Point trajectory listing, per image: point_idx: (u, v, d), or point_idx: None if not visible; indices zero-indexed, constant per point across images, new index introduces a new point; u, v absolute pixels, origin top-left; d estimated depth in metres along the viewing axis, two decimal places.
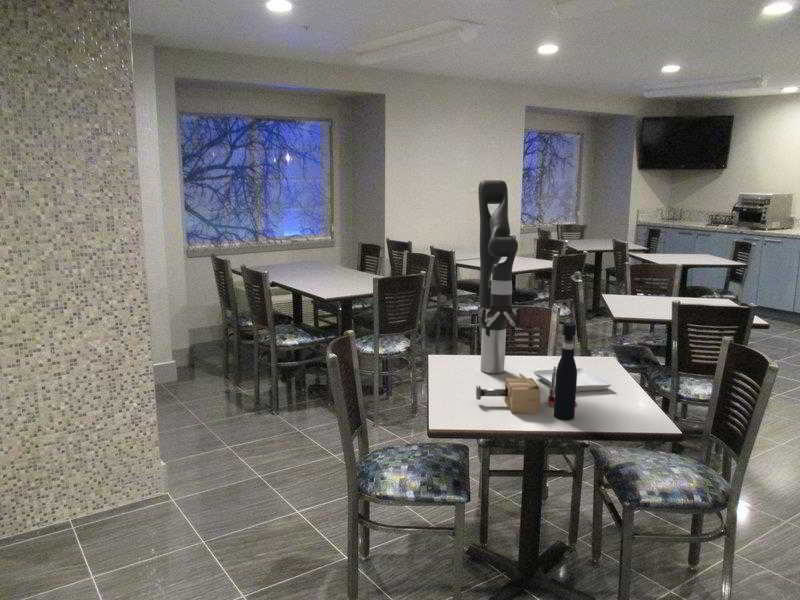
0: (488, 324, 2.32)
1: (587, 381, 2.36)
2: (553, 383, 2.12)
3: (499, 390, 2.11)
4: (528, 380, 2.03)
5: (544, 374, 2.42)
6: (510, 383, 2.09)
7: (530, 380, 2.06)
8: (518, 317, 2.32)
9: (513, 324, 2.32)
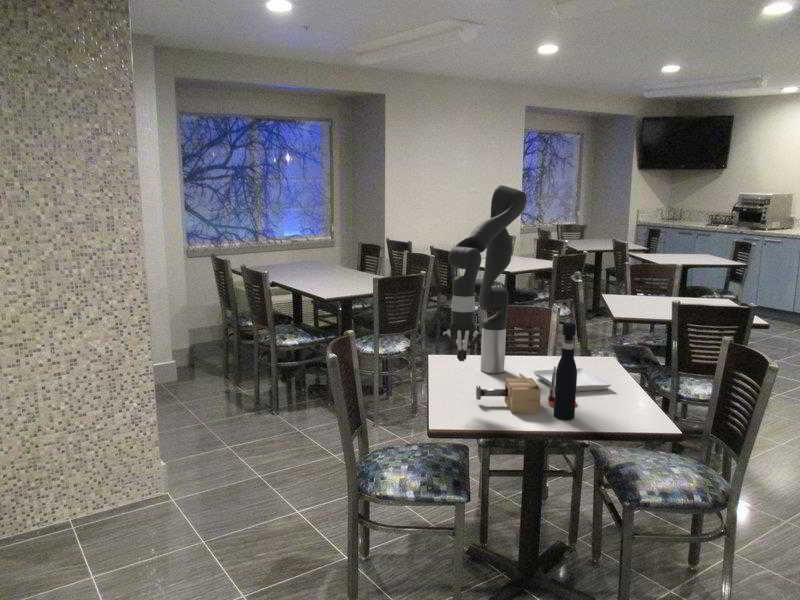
0: (460, 347, 2.07)
1: (587, 381, 2.36)
2: (553, 383, 2.12)
3: (499, 390, 2.11)
4: (528, 380, 2.03)
5: (544, 374, 2.42)
6: (510, 383, 2.09)
7: (530, 380, 2.06)
8: (474, 341, 2.07)
9: (464, 347, 2.07)
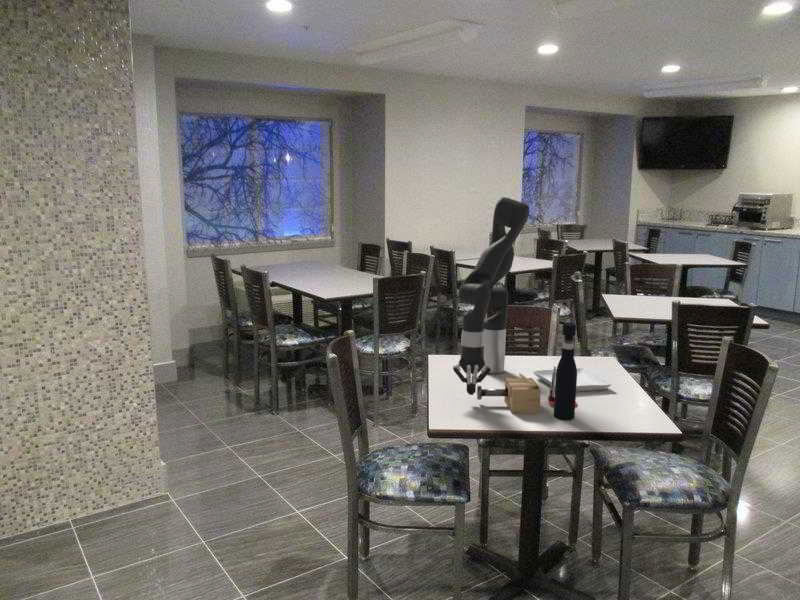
0: (469, 381, 2.10)
1: (587, 381, 2.36)
2: (553, 383, 2.12)
3: (500, 390, 2.11)
4: (528, 380, 2.03)
5: (544, 374, 2.42)
6: (510, 383, 2.09)
7: (530, 380, 2.06)
8: (483, 375, 2.09)
9: (473, 381, 2.10)
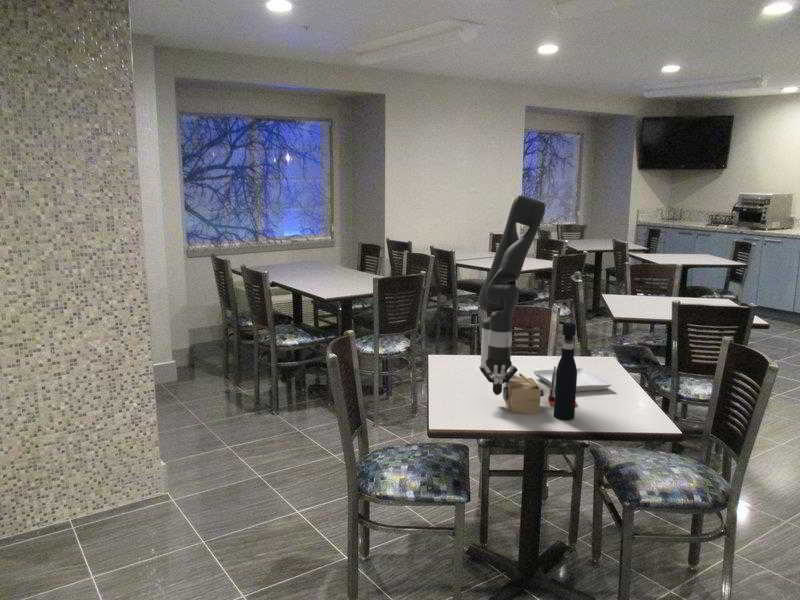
0: (496, 381, 2.10)
1: (587, 381, 2.36)
2: (553, 383, 2.12)
3: None
4: (528, 380, 2.03)
5: (544, 374, 2.42)
6: (510, 383, 2.09)
7: (530, 380, 2.06)
8: (510, 375, 2.10)
9: (500, 381, 2.10)
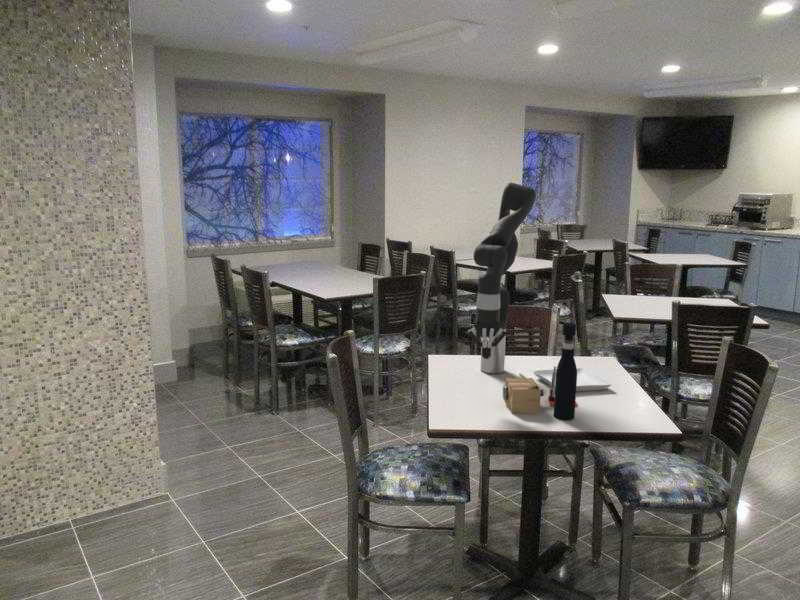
0: (485, 345, 2.08)
1: (587, 381, 2.36)
2: (553, 383, 2.12)
3: None
4: (528, 380, 2.03)
5: (544, 374, 2.42)
6: (510, 383, 2.09)
7: (530, 380, 2.06)
8: (499, 339, 2.07)
9: (489, 345, 2.08)
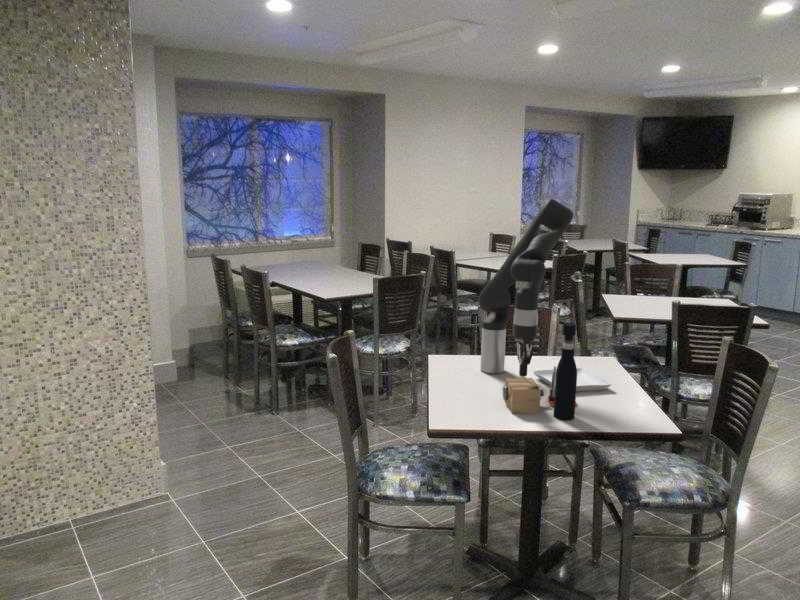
0: (519, 360, 2.04)
1: (587, 381, 2.36)
2: (553, 383, 2.12)
3: None
4: (528, 380, 2.03)
5: (544, 374, 2.42)
6: (510, 383, 2.09)
7: (530, 380, 2.06)
8: (522, 358, 1.99)
9: (520, 361, 2.03)
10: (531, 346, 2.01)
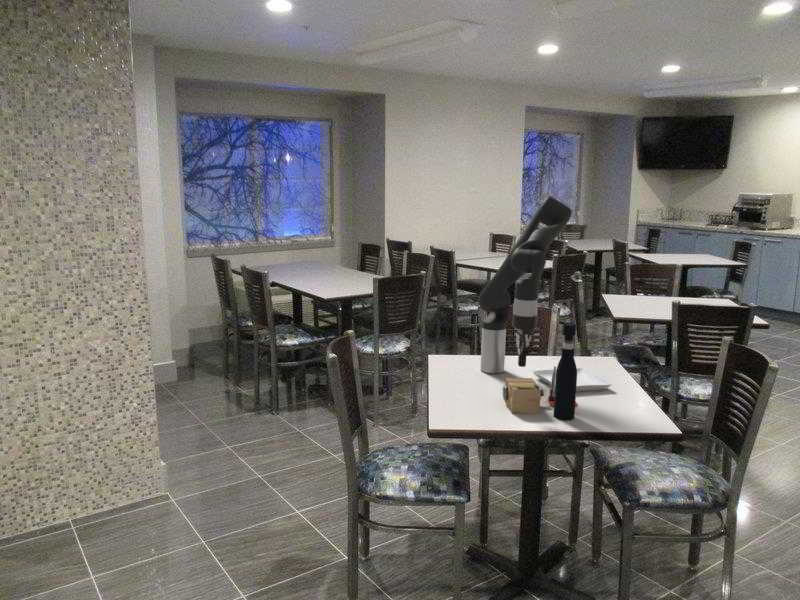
0: (518, 351, 2.03)
1: (587, 381, 2.36)
2: (553, 383, 2.12)
3: None
4: (525, 386, 2.03)
5: (544, 374, 2.42)
6: (510, 383, 2.09)
7: (528, 383, 2.06)
8: (521, 348, 1.98)
9: (519, 352, 2.02)
10: (530, 337, 2.00)
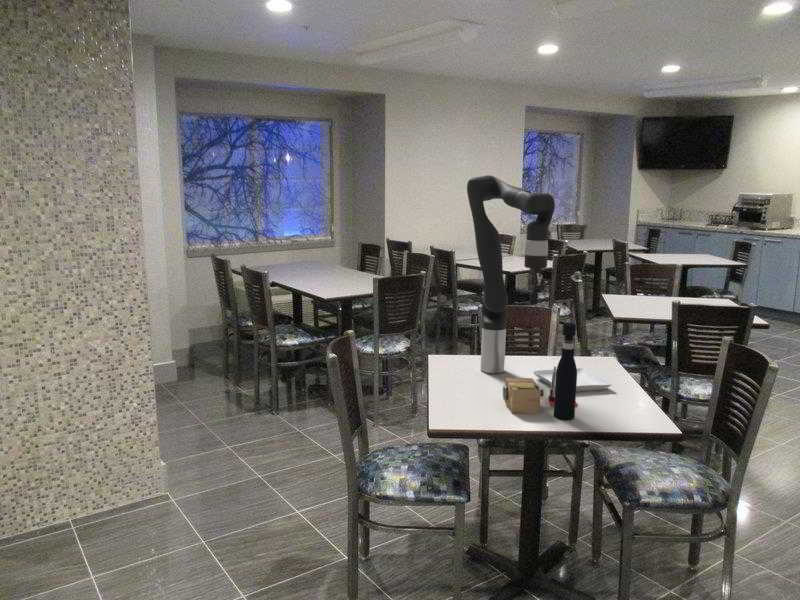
0: (530, 290, 2.17)
1: (587, 381, 2.36)
2: (553, 383, 2.12)
3: None
4: (525, 386, 2.03)
5: (544, 374, 2.42)
6: (510, 383, 2.09)
7: None
8: (533, 286, 2.12)
9: (531, 291, 2.16)
10: (541, 275, 2.14)
